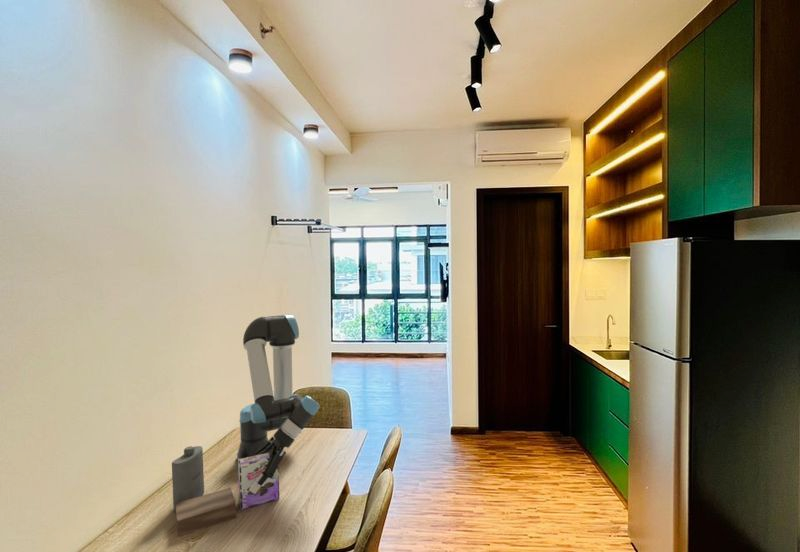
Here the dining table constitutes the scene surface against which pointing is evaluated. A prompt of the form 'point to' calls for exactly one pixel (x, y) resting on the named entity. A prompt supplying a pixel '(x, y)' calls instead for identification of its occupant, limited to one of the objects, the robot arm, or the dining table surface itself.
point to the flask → (188, 475)
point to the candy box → (249, 474)
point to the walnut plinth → (205, 511)
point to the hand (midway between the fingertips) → (248, 483)
